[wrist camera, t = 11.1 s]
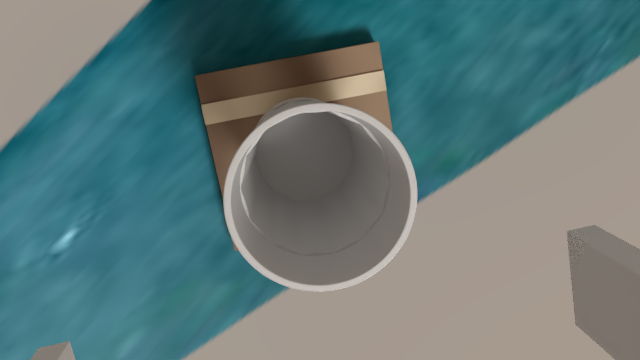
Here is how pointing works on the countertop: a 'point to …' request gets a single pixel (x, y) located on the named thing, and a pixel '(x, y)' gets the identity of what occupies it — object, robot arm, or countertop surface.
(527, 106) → the countertop surface
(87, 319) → the countertop surface
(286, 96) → the striped wooden coaster
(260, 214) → the cup
